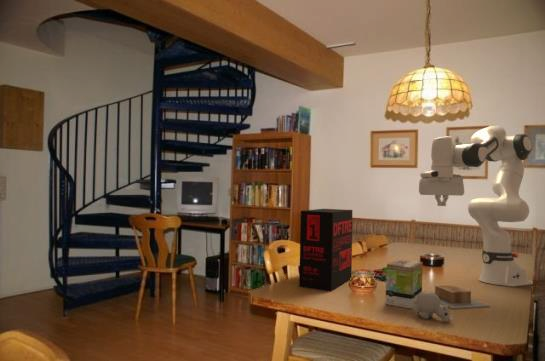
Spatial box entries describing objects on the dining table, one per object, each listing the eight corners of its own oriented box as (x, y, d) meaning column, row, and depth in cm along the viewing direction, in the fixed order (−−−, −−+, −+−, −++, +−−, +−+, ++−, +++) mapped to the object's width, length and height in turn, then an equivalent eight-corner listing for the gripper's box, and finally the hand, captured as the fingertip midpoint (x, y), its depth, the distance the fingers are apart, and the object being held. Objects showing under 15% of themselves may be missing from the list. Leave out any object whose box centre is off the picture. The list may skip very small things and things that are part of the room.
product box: (331, 291, 163) (332, 212, 164) (299, 286, 170) (300, 210, 171) (351, 279, 187) (352, 209, 187) (322, 275, 193) (323, 208, 194)
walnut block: (452, 285, 160) (470, 291, 150) (452, 295, 160) (470, 302, 150) (435, 285, 158) (452, 292, 148) (434, 296, 158) (452, 303, 148)
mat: (463, 296, 159) (463, 295, 159) (490, 307, 146) (490, 305, 146) (427, 298, 156) (427, 297, 156) (451, 309, 142) (451, 308, 142)
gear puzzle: (387, 269, 215) (387, 261, 215) (418, 273, 204) (418, 265, 204) (360, 278, 191) (360, 270, 191) (392, 284, 180) (392, 275, 180)
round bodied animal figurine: (441, 333, 125) (452, 310, 123) (407, 310, 133) (417, 288, 131) (451, 328, 130) (461, 305, 128) (418, 306, 138) (427, 284, 136)
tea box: (413, 309, 141) (413, 267, 141) (384, 304, 146) (385, 263, 146) (422, 300, 154) (423, 261, 154) (395, 295, 159) (396, 258, 159)
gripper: (457, 174, 179) (457, 205, 179) (417, 173, 175) (416, 205, 174) (467, 174, 173) (467, 206, 173) (425, 172, 168) (425, 206, 168)
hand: (441, 206), depth 174 cm, fingers closed
